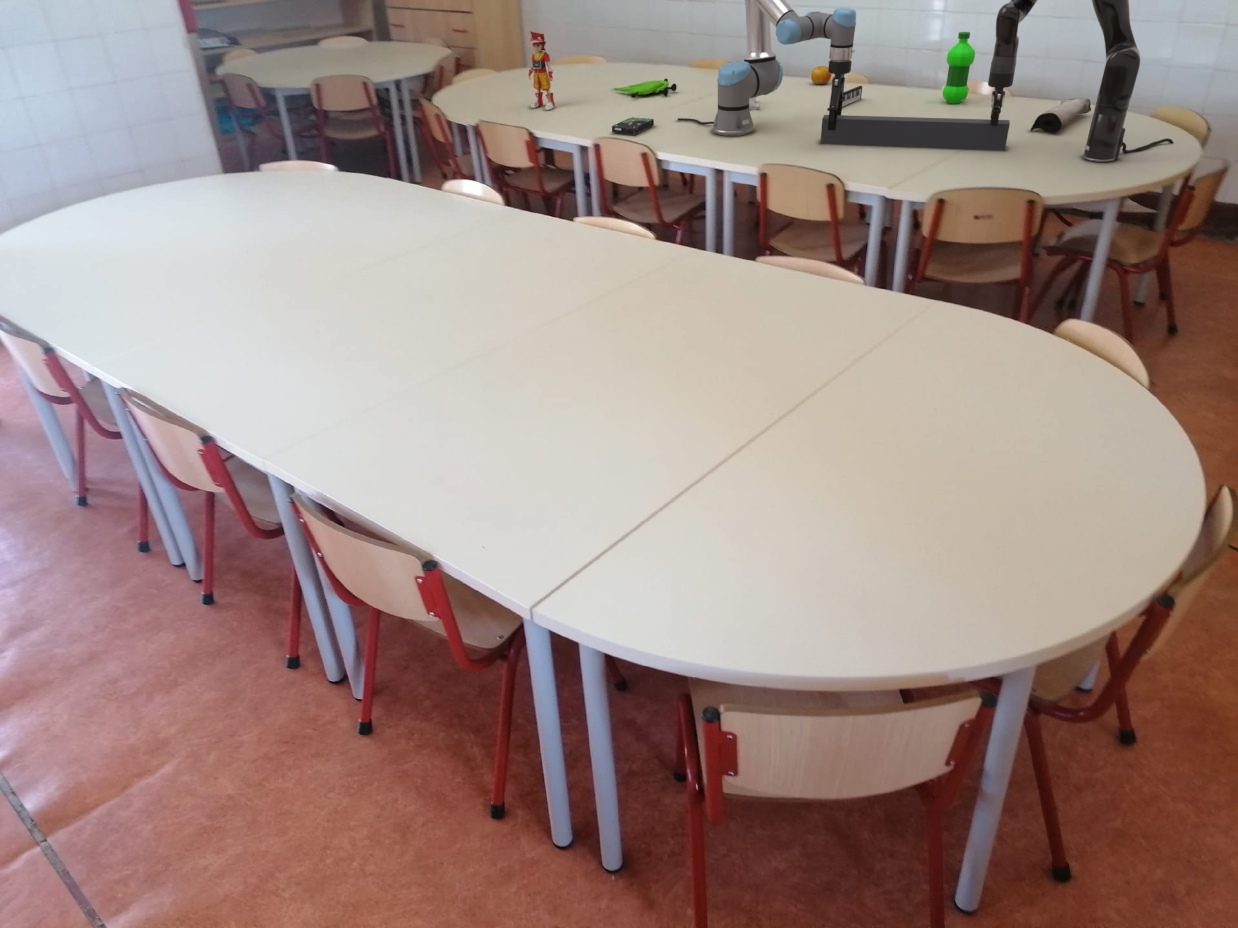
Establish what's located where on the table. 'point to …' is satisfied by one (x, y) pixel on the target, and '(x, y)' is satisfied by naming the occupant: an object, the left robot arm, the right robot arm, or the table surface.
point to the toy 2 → (648, 88)
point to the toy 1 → (541, 71)
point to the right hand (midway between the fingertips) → (993, 122)
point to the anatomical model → (753, 103)
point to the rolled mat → (1061, 115)
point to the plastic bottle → (958, 69)
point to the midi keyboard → (852, 95)
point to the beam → (916, 132)
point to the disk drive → (632, 126)
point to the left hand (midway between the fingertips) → (834, 125)
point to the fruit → (820, 75)
